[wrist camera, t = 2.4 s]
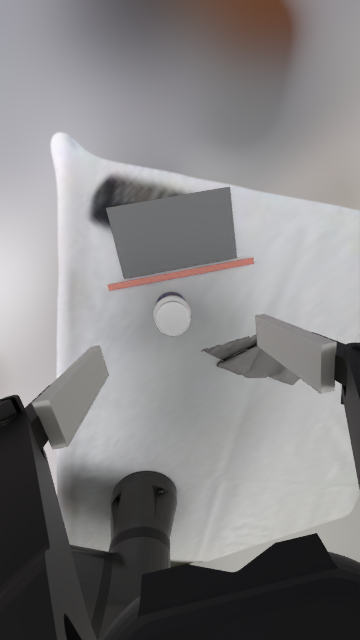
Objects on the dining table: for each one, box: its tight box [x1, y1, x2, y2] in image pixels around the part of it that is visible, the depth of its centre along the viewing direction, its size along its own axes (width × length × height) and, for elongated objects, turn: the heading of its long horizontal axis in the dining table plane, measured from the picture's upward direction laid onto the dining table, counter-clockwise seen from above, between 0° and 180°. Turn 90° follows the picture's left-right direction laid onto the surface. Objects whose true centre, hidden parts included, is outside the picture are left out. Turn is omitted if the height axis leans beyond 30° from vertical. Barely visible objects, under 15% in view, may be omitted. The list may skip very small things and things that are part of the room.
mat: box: [106, 187, 237, 279], centre depth 30 cm, size 20×11×1 cm, turn 100°
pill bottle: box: [153, 292, 191, 336], centre depth 28 cm, size 6×6×10 cm
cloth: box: [201, 335, 300, 385], centre depth 37 cm, size 26×14×2 cm, turn 62°
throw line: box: [108, 258, 254, 291], centre depth 32 cm, size 26×1×1 cm, turn 100°
